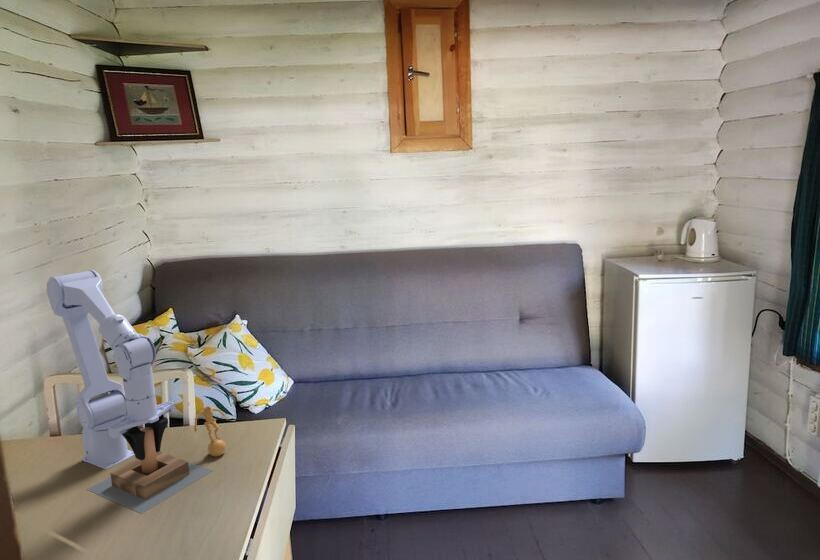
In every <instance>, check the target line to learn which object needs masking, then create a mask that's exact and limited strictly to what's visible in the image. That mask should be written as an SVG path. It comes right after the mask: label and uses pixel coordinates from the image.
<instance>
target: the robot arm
mask: <svg viewBox="0 0 820 560" xmlns="http://www.w3.org/2000/svg"><path fill="white" fill-rule="evenodd" d="M46 295H47V298H48V301H49V304H50V307H51V309H52V311H53V314H54V316H57V317H62V320H63V323H64V326H65V329H66V332H67V335H68V338H69V340H70V341H69V342H70V343H71V344H70V345H71V347H72V349H73V353H74V356H75V360H76V362H77V365H78V368H79V369H78V370H79V372H80V375H81V378H82V381H83V384H84V387H83V388H82V389H81V390H80V392H79V393H78V395H76V398H75V401H74V402H75V406H76V415H77V419H78V421H79V424H80V425H81V426H82V427H83V428H82V431H81V439H82V446H83V453H84V457H81V461H82V462H86V463H89V464H92V465H94V466H97V467H99V468H101V469H104V470H107V469H110V468H112V467H114V466H116V465H118V464H119V463H121V462H124V461H126V460H128V459H129V458H132V457H134V456H135V460H136V459H139V460H144V459H145V451H144V437H145V432H144V431H141V430H140V429H141V426H143V425H145V427H152V428H153V432H154V439H155V447H156V452H161V446H162V440H163V436H164V433H165V430H166V427H167V426H168V424H169V419H168V417H165V416H164V415H166V414H169V413H174V412H176V403H175V402H173V401H170V400H169V401H165V402H163V403H160V404H157V397H156V391H155V390H156V389H155V382H154V376H153V375H154V374H153V372H154V371H153V366H152V365H153V364H152V363H154V362H155V361H156V359H157V351H156V346H155V343H154V342H153V341H152V339H151V338H150V336H149V335H148V336H147V335H143V334H142V333H138V332H137V331H136V329H135V328H134V327H133V325H131V323H130V322H129V321H128V320H127V318H126V316H124V315H123V314H116V313H115V311H114V310H113V308H112V306H111V305H110V303H109V302H108V300H107V298H106V297H105V296H104V285H103V280H102V277H101V275H100V274H99V273H98V272H97V271H96V270H94V269H88V271H81V272H76V273H75V272H74V273H71V274H64V275H58V276H50V277H49V278H48V280H47V281H46ZM88 314H89V315H90V316H91V317H92V318H93V319H94V320H95V321H96V322H97V323H98V324H99V327H98V333H99V335H101V337H102V338H103V339H104V341H105V342H106V343H107V345H108V346H109V347H110V349H111V350H112V351H113V360H114V363H115V365H116V366H117V369H118V375H119V377H120V378H121V379H122V383H123V384H122V383H120V382H117V381H115V380H112V379H109V376H108V373H107V371H106V370H107V369H106V368H105V367H106V366H105V364H104V361H103V358H102V354H101V353H100V348H99V346H98V343H97V339H96V336H95V334H94V331H93V328H92V323H91V321H90V319H89V315H88ZM104 393H107V394H104ZM101 394H104V395H101ZM99 395H101V396H99ZM97 396H98V397H97ZM93 397H95V398H93ZM139 427H140V428H139ZM128 445H129V446H130V448H131V449H128Z"/></svg>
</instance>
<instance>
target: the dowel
mask: <svg viewBox="0 0 820 560" xmlns="http://www.w3.org/2000/svg"><path fill="white" fill-rule="evenodd" d="M140 430H141V431H144V432H145V437H144V451H145V459H144V460H141V468H142V472H143V473H151V472H154V471H156V470H157V469H158V463H157V455H156V447H155V439H154V432H153V428H152V427H146V426H145V427H142V428H141V427H140Z"/></svg>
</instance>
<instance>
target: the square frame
mask: <svg viewBox="0 0 820 560" xmlns="http://www.w3.org/2000/svg"><path fill="white" fill-rule="evenodd" d="M156 455H157V463H158V469H157V470H156V471H155V472H153V473H151V474H150V475H148V474H149V473H143V472H142V468H141V460H139V459H136V458H135V460H132V461H131V462H129V463H127V464H125V465H123V466H121V467H118V468H117V469H115V470H113V471H111V472H110V473H109V474H110V477H111V481H112V486H114V487H117V488H119V489H121V490H124V491H126V492H128V493H131V494H133V495H136V496H138V497H140V498H143V499H145V500H146V499H148V498H149V497H151V496H153V495H154V494H156V493H158V492H160V491H161V490H163V489H165V488H166V487H168V486H170V485H172V484H173V483H175V482H177V481H178V480H180V479H182V478H184V477H185V476H187V475H189V466H188V462H189V461H187V460H185V459H182V458H179V457H176V456H174V455H170V454H167V453H164V452H162V451H159V452H156ZM146 475H148V476H146Z"/></svg>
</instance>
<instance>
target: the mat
mask: <svg viewBox="0 0 820 560" xmlns="http://www.w3.org/2000/svg"><path fill="white" fill-rule="evenodd" d="M188 466H189V475H187V476H185V477H184V478H182V479H180V480H178V481H177V482H175V483H173V484H172V485H170V486H168V487H166V488H165V489H163V490H161V491H160V492H158V493H156V494H154V495H153V496H151V497H149V498H148V499H146V500H145V499H143V498H140V497H138V496H136V495H133V494H131V493H128V492H126V491H124V490H121V489H119V488H117V487H114V486H112V481H111V476H110V477H108V478H107V479H104V480H102V481H100V482H99V483H96V484H95V485H93V486H90V487H89V488H87V489H86V491H89V492H91V493H93V494H95V495H98V496H99V497H102V498H105V499H106V500H110V501H111V502H114V503H116V504H118V505H121V506H123V507H125V508H127V509H130V510H132V511H134V512H137V513H139V514H141V515H142V514H143V513H146V512H147V511H149V510H150V509H152V508H154V507H155V506H157V505H159V504H160V503H162V502H164V501H165V500H167V499H169V498H170V497H172V496H173V495H176V494H177V493H178V492H180V491H182V490H184V489H185V488H187V487H189V486H190V485H192V484H194V483H195V482H197V481H199V480H200V479H202V478H203V477H205V476H207V475H208V474H210V473H212V472H213V471H214V470H213V469H210V468H207V467H204V466H201V465H198V464H196V463H193V462H191V461H188ZM154 472H155V471H154ZM151 473H153V472H151ZM151 473H149V474H148V475H150V474H151ZM148 475H146V476H148Z"/></svg>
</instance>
